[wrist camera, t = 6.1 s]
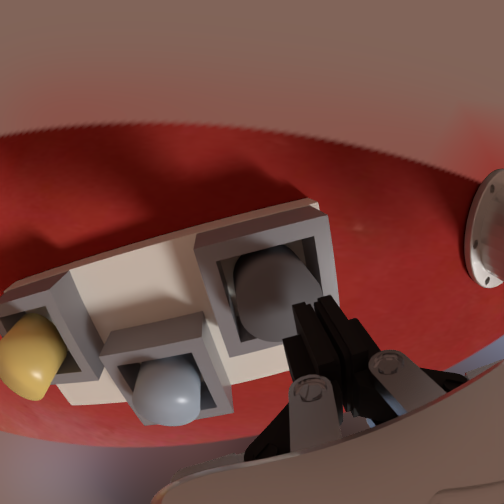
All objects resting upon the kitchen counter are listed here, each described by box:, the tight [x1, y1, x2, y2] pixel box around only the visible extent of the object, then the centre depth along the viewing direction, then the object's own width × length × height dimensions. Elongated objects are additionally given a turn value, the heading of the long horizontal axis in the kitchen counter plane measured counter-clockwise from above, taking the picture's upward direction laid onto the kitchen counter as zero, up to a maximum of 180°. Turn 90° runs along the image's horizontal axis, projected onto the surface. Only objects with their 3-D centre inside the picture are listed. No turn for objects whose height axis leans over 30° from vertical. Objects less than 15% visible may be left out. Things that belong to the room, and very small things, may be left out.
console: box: [0, 198, 340, 426], centre depth 18 cm, size 24×12×5 cm, turn 103°
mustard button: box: [0, 313, 67, 400], centre depth 14 cm, size 4×4×4 cm
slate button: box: [132, 352, 201, 426], centre depth 17 cm, size 4×4×4 cm
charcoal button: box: [233, 244, 323, 342], centre depth 16 cm, size 4×4×4 cm
